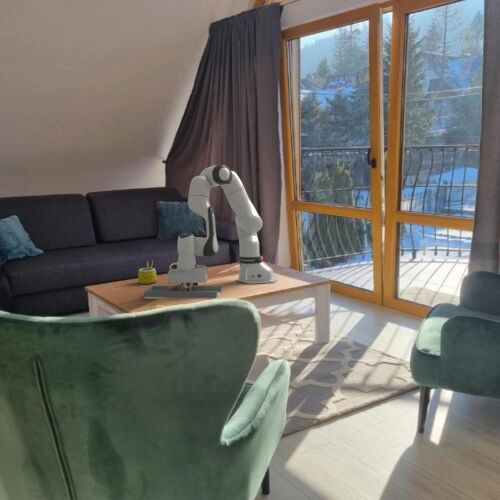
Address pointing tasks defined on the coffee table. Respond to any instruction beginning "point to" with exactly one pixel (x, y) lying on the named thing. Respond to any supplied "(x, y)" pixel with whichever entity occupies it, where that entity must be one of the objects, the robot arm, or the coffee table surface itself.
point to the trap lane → (181, 292)
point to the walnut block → (176, 288)
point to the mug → (147, 275)
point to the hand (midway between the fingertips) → (188, 290)
